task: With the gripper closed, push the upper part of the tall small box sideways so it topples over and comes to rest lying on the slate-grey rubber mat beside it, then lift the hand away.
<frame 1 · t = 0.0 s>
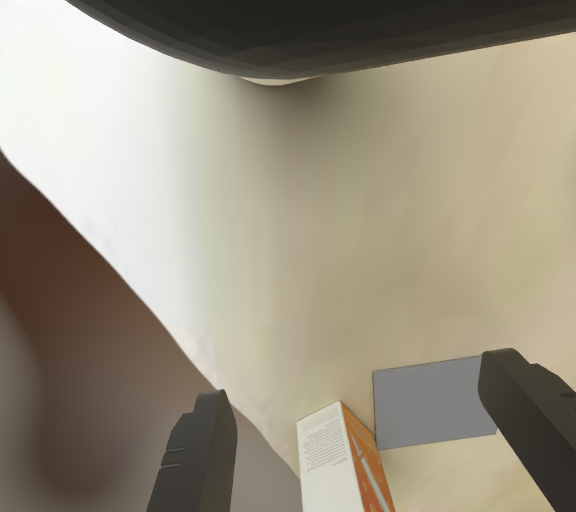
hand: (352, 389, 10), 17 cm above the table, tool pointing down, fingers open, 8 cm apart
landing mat: (438, 403, 37), on the table
small box: (334, 425, 39), on the table
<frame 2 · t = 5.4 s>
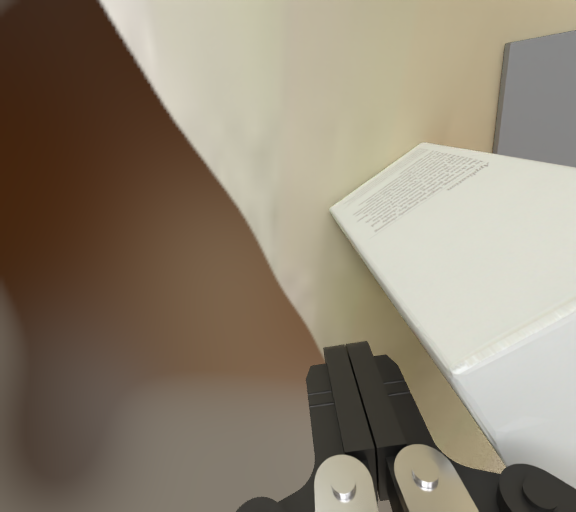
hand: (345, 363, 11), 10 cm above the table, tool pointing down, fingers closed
small box: (404, 226, 19), on the table, touching gripper
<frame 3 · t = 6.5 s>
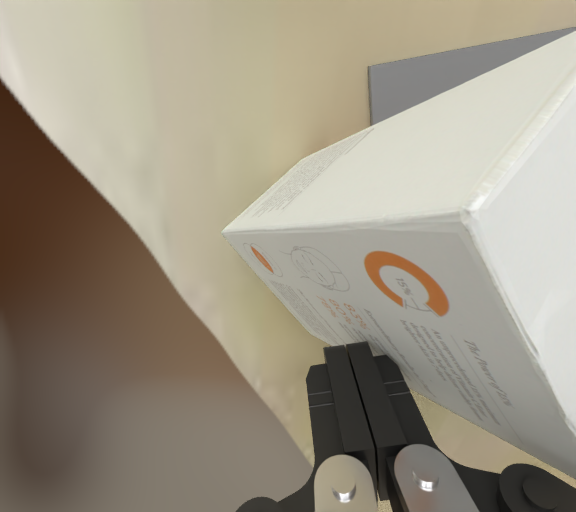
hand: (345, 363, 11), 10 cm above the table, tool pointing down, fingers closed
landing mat: (503, 180, 18), on the table
small box: (304, 247, 18), point 2 cm above the table
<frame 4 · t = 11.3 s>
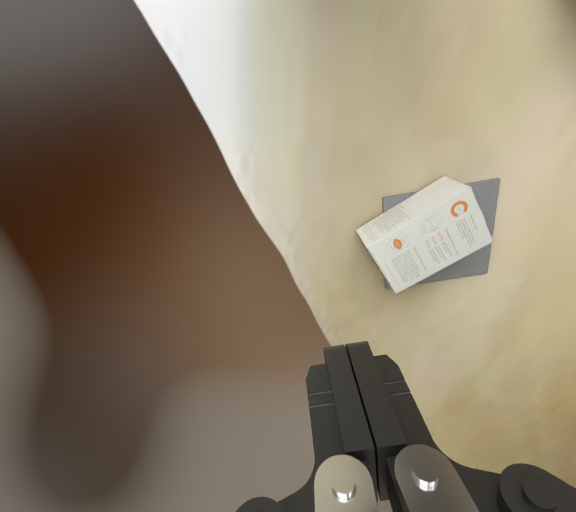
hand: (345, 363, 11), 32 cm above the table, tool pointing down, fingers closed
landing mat: (437, 236, 44), on the table
small box: (373, 261, 42), point 3 cm above the table, touching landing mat
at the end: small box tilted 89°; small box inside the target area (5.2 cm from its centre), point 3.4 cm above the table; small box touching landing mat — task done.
